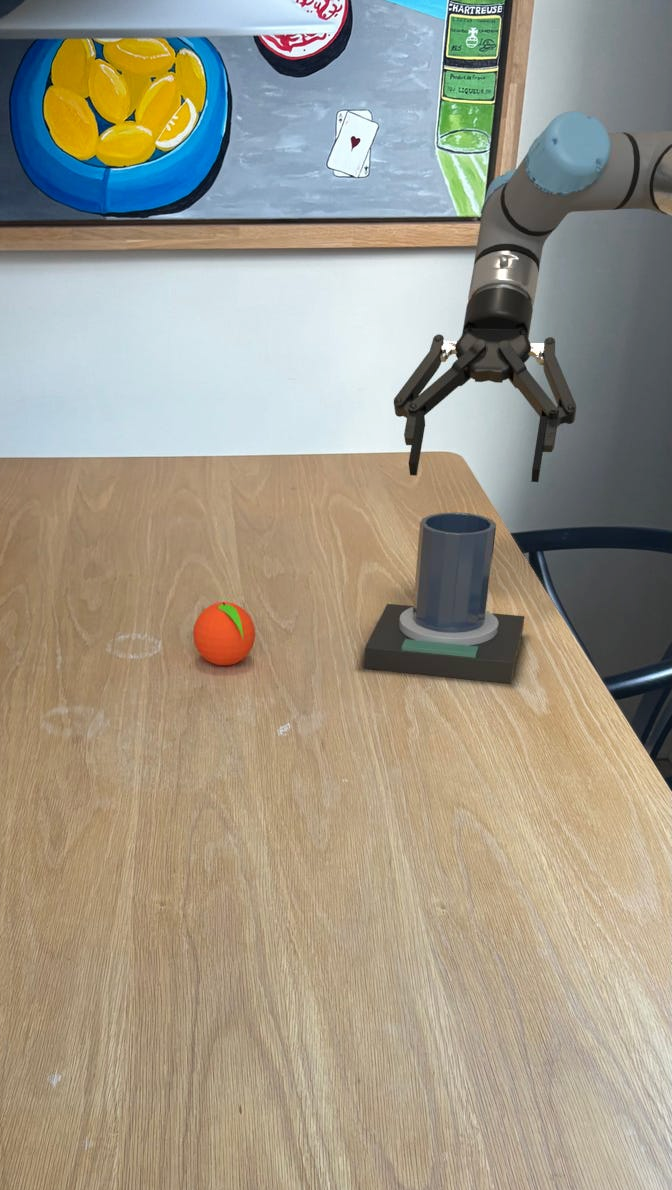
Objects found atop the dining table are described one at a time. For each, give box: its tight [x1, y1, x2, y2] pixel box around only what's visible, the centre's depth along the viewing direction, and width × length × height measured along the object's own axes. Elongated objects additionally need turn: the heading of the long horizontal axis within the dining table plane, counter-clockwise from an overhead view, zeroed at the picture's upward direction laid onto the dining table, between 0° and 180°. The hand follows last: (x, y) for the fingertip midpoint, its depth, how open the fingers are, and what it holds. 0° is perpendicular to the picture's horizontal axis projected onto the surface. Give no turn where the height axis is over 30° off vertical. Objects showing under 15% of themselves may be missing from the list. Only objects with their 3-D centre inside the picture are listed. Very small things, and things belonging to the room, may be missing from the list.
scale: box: [363, 603, 525, 684], centre depth 139 cm, size 16×14×4 cm
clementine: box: [192, 601, 256, 666], centre depth 136 cm, size 8×7×7 cm
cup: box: [412, 511, 497, 633], centre depth 136 cm, size 8×8×11 cm
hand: (473, 473), depth 138 cm, fingers open, 13 cm apart
